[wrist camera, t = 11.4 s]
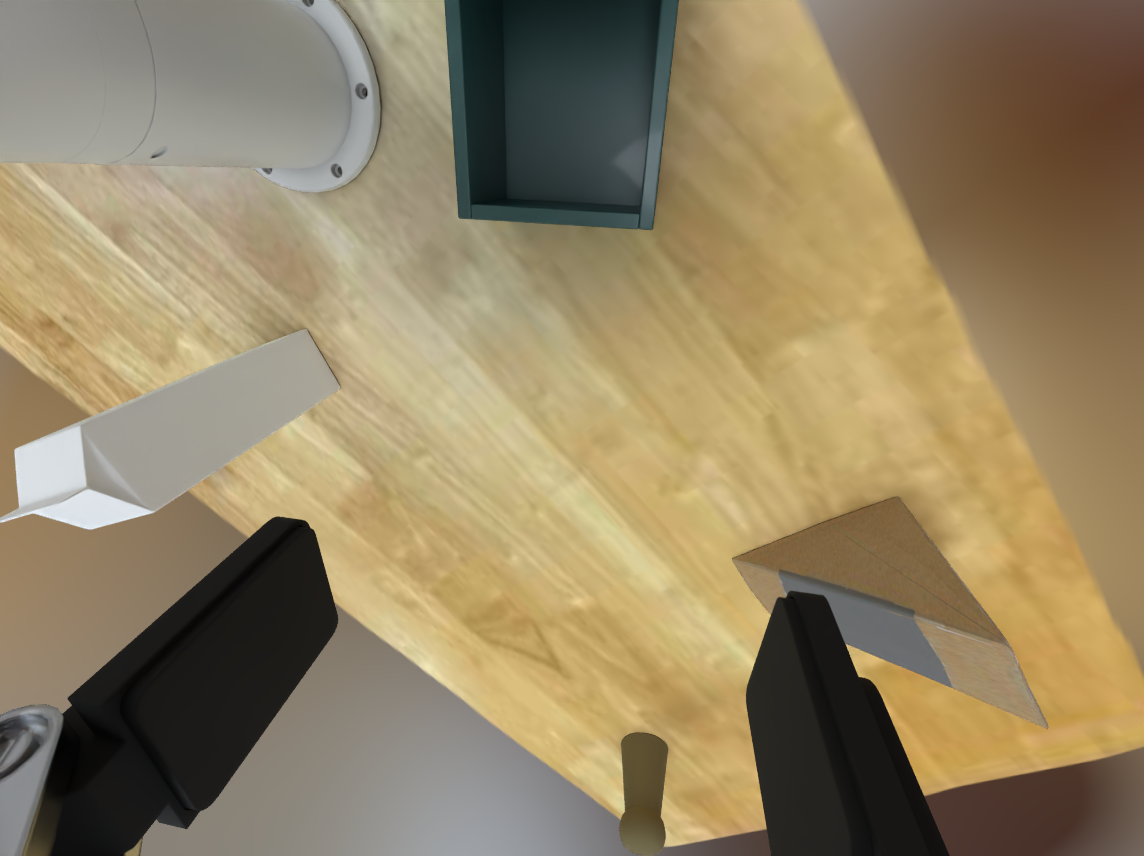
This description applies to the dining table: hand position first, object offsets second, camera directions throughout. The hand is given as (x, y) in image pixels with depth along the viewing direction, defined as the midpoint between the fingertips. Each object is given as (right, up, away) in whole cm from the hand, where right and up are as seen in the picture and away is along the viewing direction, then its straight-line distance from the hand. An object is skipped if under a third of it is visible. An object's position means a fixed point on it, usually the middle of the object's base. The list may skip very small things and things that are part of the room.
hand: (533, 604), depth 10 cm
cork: (+10, -38, +53) cm, 66 cm away
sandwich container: (+25, -9, +35) cm, 44 cm away
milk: (-24, +9, +34) cm, 43 cm away
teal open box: (+1, +25, +21) cm, 33 cm away
